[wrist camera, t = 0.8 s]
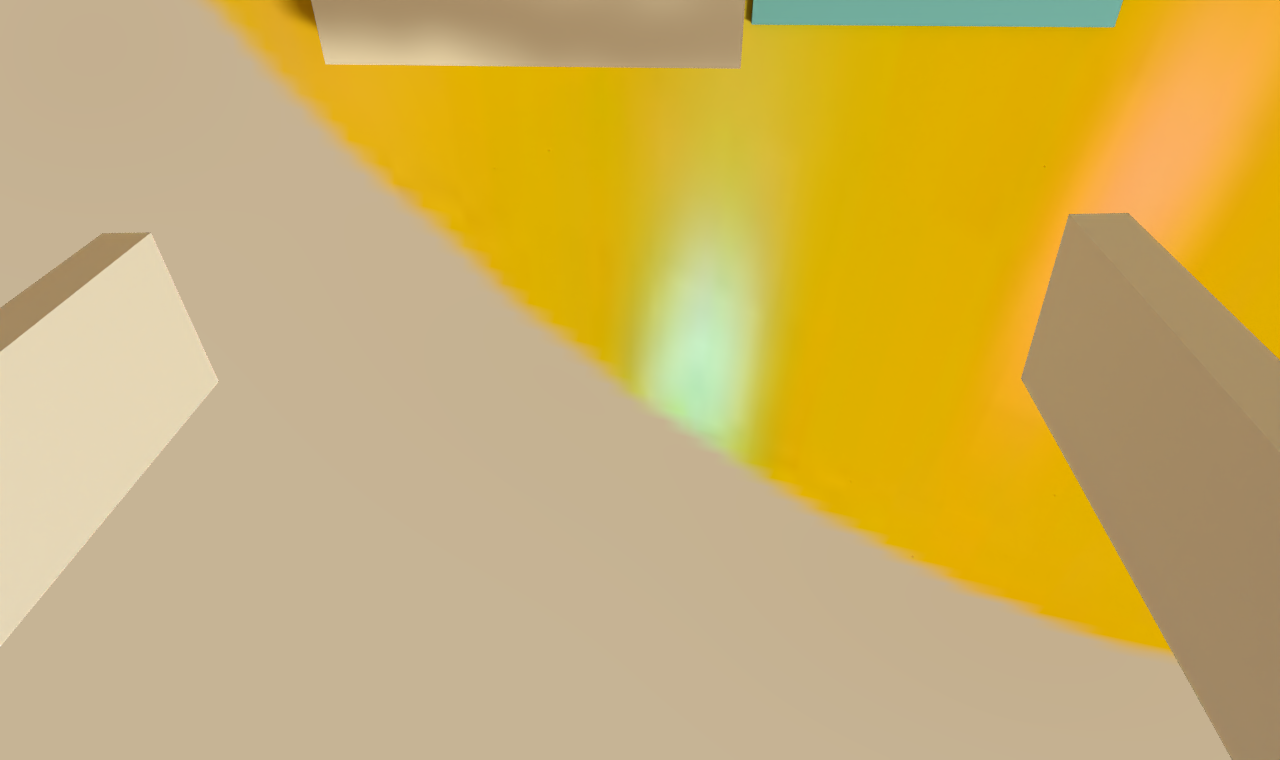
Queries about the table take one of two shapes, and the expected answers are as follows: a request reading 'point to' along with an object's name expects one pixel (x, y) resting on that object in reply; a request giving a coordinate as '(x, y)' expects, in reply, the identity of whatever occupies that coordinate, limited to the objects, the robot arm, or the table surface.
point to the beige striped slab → (532, 32)
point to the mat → (938, 12)
